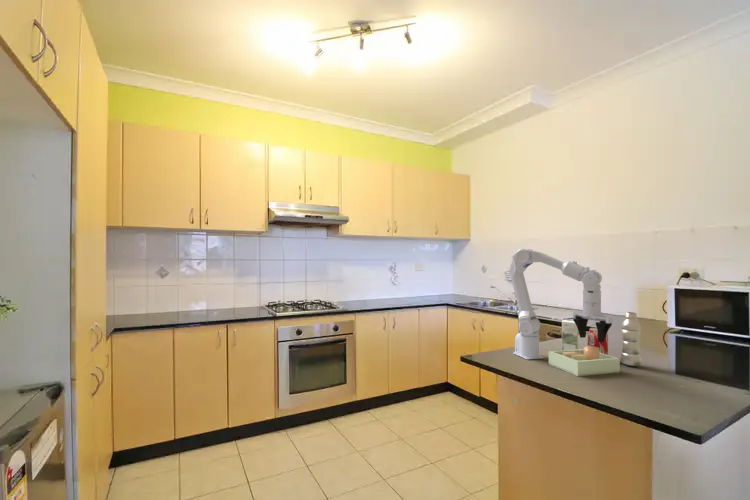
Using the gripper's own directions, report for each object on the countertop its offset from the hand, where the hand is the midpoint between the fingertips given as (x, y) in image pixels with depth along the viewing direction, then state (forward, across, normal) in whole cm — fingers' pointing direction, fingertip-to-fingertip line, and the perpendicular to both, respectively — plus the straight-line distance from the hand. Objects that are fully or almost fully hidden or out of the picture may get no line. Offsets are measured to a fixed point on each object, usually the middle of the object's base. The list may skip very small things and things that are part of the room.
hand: (591, 339), depth 135 cm
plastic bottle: (+11, +3, +17) cm, 20 cm away
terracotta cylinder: (+10, 0, 0) cm, 10 cm away
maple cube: (+10, -1, -8) cm, 13 cm away
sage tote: (+10, 0, -4) cm, 11 cm away
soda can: (+11, -8, +13) cm, 18 cm away
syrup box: (+11, -15, +7) cm, 20 cm away
